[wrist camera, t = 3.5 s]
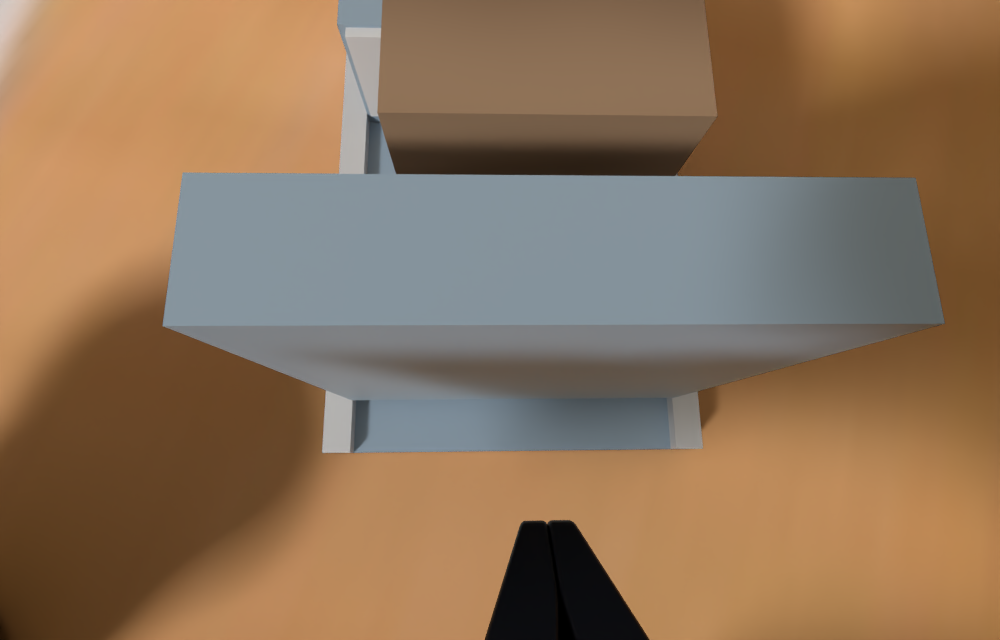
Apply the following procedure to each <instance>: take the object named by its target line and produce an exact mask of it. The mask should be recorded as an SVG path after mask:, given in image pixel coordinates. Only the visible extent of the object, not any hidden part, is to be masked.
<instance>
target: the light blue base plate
mask: <svg viewBox="0 0 1000 640" xmlns="http://www.w3.org/2000/svg"><path fill="white" fill-rule="evenodd" d="M339 174H396V172H395V169H394V166H393V162H392V159H391V156H390V153H389V149H388V146H387V143H386V139H385V136H384V133H383V130H382V126H381V123H380V122H370V121H369V118H368V115H367V112H366V109H365V106H364V103H363V100H362V97H361V94H360V91H359V88H358V85H357V82H356V79H355V76H354V73H353V70H352V67H351V64H350V61H349V58H348V55H347V54H346V70H345V86H344V103H343V119H342V135H341V152H340V168H339ZM675 176H678V174H676V175H675ZM626 449H703V444H702V433H701V422H700V411H699V401H698V391H697V392H693V393H689V394H686V395H682V396H678V397H675V398H589V399H463V400H350V399H347V398H345V397H342V396H339V395H337V394H334V393H332V392H329V391H327V390H326V397H325V414H324V430H323V446H322V453H363V452H451V451H539V450H626Z"/></svg>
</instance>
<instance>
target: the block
mask: <svg viewBox="0 0 1000 640" xmlns="http://www.w3.org/2000/svg"><path fill="white" fill-rule="evenodd" d="M377 113H378V116H379V120H380V123H381V126H382V130H383V133H384V136H385V139H386V143H387V146H388V149H389V153H390V156H391V159H392V162H393V166H394V169H395V172H396V174H440V175H583V176H675V175H676V174H677V173H678V171H679V170H680V168H681V167H682V166H683V164H684V163H685V161H686V160H687V159H688V157H689V156H690V154H691V153H692V152H693V150H694V149H695V147H696V146H697V145H698V143H699V142H700V140H701V139H702V137H703V136H704V135H705V133H706V132H707V130H708V129H709V128H710V126H711V125H712V123H713V122H714V121H715V119H716V118H717V107H716V98H715V90H714V81H713V72H712V63H711V55H710V46H709V37H708V28H707V20H706V11H705V2H704V0H382V20H381V42H380V65H379V87H378V109H377Z"/></svg>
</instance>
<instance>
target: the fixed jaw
mask: <svg viewBox="0 0 1000 640" xmlns="http://www.w3.org/2000/svg"><path fill="white" fill-rule="evenodd" d="M381 20H382V0H339V4H338V19H337V26H338V29H339V31H340V34H341V37H342V40H343V43H344V46H345V49H346V52H347V55H348V58H349V61H350V64H351V67H352V70H353V73H354V76H355V79H356V82H357V85H358V88H359V91H360V94H361V97H362V100H363V103H364V106H365V109H366V112H367V115H368V118H369V121H370V122H380V120H379V116H378V113H377V109H378V87H379V65H380V42H381Z"/></svg>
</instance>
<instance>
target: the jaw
mask: <svg viewBox="0 0 1000 640" xmlns="http://www.w3.org/2000/svg"><path fill="white" fill-rule="evenodd" d="M942 324H945V322H944V317H943V312H942V307H941V302H940V297H939V292H938V287H937V282H936V277H935V272H934V267H933V262H932V257H931V252H930V247H929V242H928V237H927V232H926V227H925V222H924V217H923V212H922V207H921V202H920V197H919V192H918V187H917V182H916V178H870V177H727V176H583V175H440V174H296V173H183V175H182V182H181V190H180V197H179V205H178V213H177V220H176V228H175V235H174V243H173V250H172V258H171V265H170V273H169V281H168V288H167V296H166V303H165V311H164V318H163V326H164V327H166V328H169V329H171V330H174V331H176V332H179V333H182V334H184V335H187V336H189V337H192V338H194V339H197V340H199V341H202V342H204V343H207V344H210V345H212V346H215V347H217V348H220V349H222V350H225V351H227V352H230V353H232V354H235V355H238V356H240V357H243V358H245V359H248V360H250V361H253V362H255V363H258V364H261V365H263V366H266V367H268V368H271V369H273V370H276V371H278V372H281V373H283V374H286V375H289V376H291V377H294V378H296V379H299V380H301V381H304V382H306V383H309V384H311V385H314V386H317V387H319V388H322V389H324V390H327V391H329V392H332V393H334V394H337V395H339V396H342V397H345V398H347V399H350V400H463V399H589V398H675V397H678V396H682V395H686V394H689V393H693V392H697V391H700V390H704V389H708V388H711V387H715V386H719V385H722V384H726V383H730V382H733V381H737V380H741V379H744V378H748V377H752V376H755V375H759V374H763V373H766V372H770V371H773V370H777V369H781V368H784V367H788V366H792V365H795V364H799V363H803V362H806V361H810V360H814V359H817V358H821V357H825V356H828V355H832V354H836V353H839V352H843V351H847V350H850V349H854V348H858V347H861V346H865V345H869V344H872V343H876V342H880V341H883V340H887V339H891V338H894V337H898V336H902V335H905V334H909V333H913V332H916V331H920V330H924V329H927V328H931V327H935V326H938V325H942Z"/></svg>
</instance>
